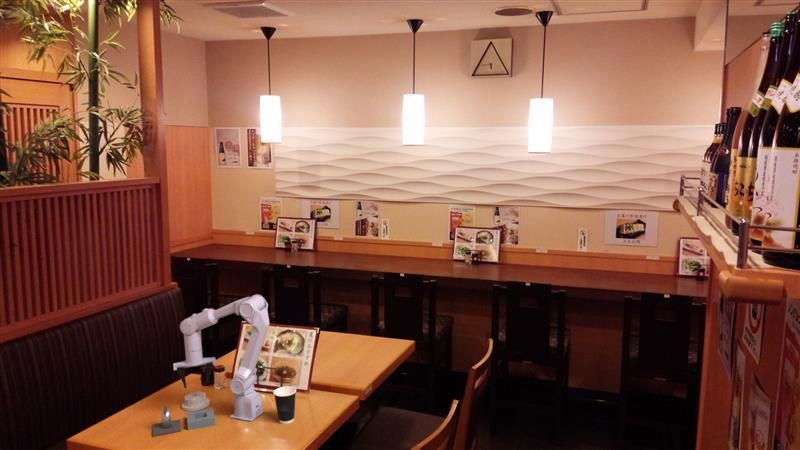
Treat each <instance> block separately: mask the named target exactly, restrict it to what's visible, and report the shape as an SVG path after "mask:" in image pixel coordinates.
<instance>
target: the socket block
mask: <svg viewBox="0 0 800 450" xmlns="http://www.w3.org/2000/svg"><path fill="white" fill-rule="evenodd" d="M214 411H215V410H214V407H211V408H204V409H201V410H197V411H187V412H186V420H187V421H186V422H187V429H188V431H190V430H196V429H201V428H205V427H210V426H215V425H216V416H215V413H214Z"/></svg>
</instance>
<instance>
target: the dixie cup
mask: <svg viewBox="0 0 800 450" xmlns="http://www.w3.org/2000/svg"><path fill="white" fill-rule="evenodd" d="M296 392H297V388H296V387H293V386H281V387H278V388H276V389H274V390H273V392H272V394H273V395H274V400H275V406H276V411H277V413H276V414H277V416H278V420H279V423H280V424H283V425H287V424H291V423H293V422H294V418H295V408H296V407H295V406H296Z"/></svg>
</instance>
